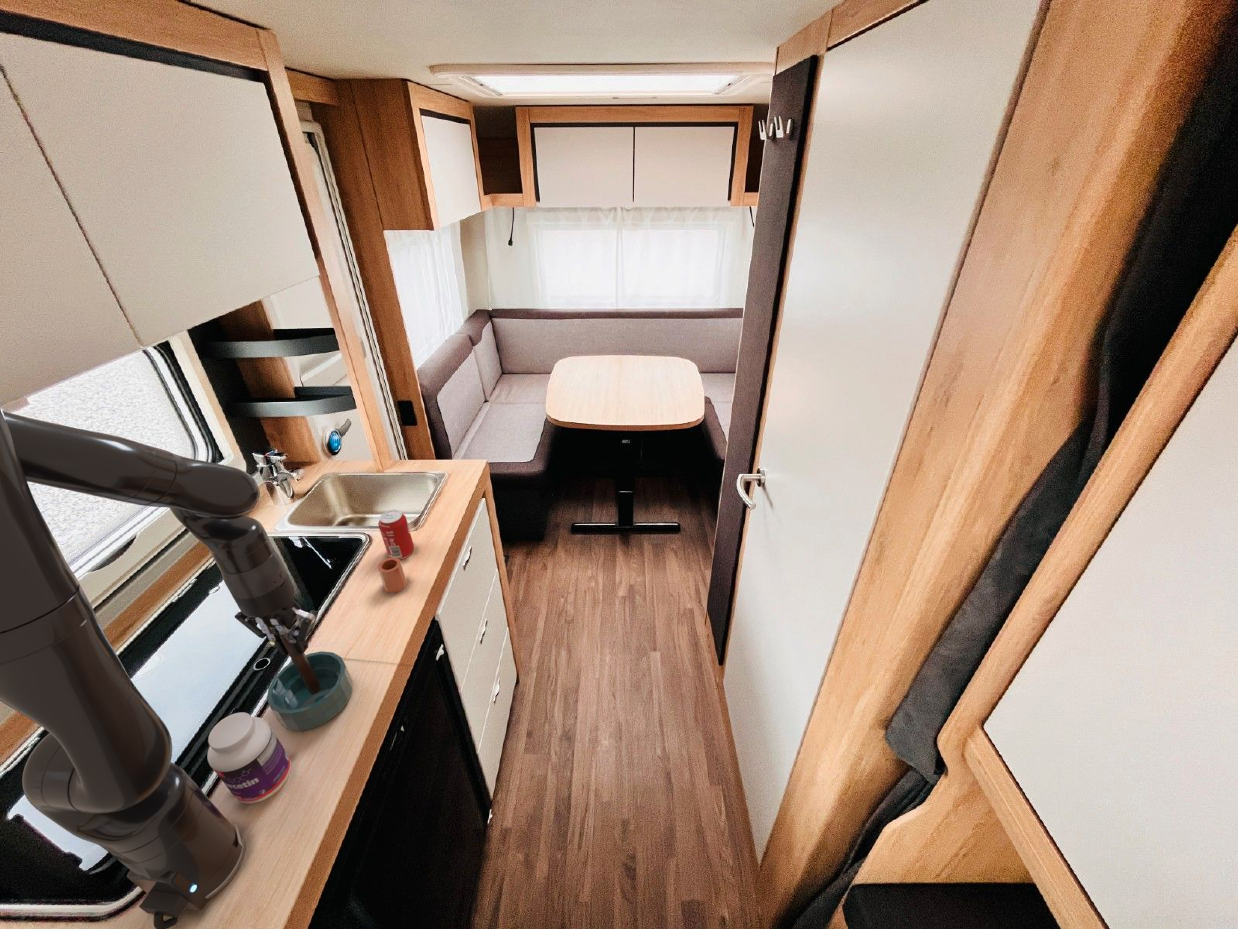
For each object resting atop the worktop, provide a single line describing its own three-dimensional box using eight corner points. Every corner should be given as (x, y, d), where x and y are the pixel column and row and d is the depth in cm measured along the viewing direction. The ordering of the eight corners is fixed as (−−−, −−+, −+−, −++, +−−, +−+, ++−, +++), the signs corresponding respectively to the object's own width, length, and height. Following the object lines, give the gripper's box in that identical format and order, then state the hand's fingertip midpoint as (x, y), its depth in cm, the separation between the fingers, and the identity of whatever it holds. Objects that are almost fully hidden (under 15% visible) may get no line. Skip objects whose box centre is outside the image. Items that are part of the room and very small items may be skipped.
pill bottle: (224, 804, 80) (182, 755, 72) (258, 752, 86) (223, 702, 79) (273, 808, 79) (236, 759, 72) (304, 756, 86) (273, 706, 78)
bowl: (329, 736, 89) (319, 717, 86) (263, 729, 90) (249, 709, 87) (366, 674, 99) (358, 654, 96) (306, 668, 100) (296, 648, 97)
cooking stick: (317, 695, 93) (287, 637, 84) (306, 694, 93) (275, 636, 85) (323, 685, 95) (294, 627, 86) (313, 684, 95) (283, 626, 86)
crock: (401, 595, 117) (394, 573, 113) (381, 593, 117) (373, 571, 113) (410, 580, 121) (404, 558, 117) (391, 578, 121) (384, 556, 117)
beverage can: (420, 547, 130) (409, 510, 124) (405, 563, 125) (394, 526, 119) (398, 543, 132) (387, 506, 125) (383, 559, 126) (371, 522, 120)
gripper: (197, 593, 76) (242, 666, 85) (283, 601, 75) (319, 674, 84) (234, 559, 83) (273, 630, 92) (314, 565, 81) (345, 637, 91)
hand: (295, 651), depth 88 cm, fingers closed on cooking stick, 2 cm apart
